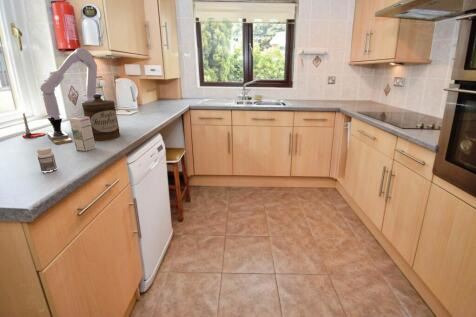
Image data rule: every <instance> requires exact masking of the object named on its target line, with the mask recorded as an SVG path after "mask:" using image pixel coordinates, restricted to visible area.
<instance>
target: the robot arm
mask: <svg viewBox="0 0 476 317" xmlns="http://www.w3.org/2000/svg"><path fill="white" fill-rule="evenodd" d="M78 62H81V63H82V64H83V65H84V66H85V67H86V82H85V83H86V85H85V87H86V88H85V98H84V102H89V101H93V100H94V99H95V98H94V97H93V96H94V95H95V94H97V92H96V91H97V76H98V74H97V73H98V72H97V71H98V65H97V62H96V61H95V59H94V57H93V55H92V52H90V51H89V50H88V49H86V48H85V47H78V48H76V49H75V50H74V51H73V52H70V54H69V55H68V56H67V57H66V58H65V60H64V61H63V62H62V64H61V65H60V67H59V68H58V69H57V70H55V69H54V70H52V71H49V75H48V77H46V79H43V83H41V85H40V88H39V89H40V90H41V91H40V92H42V97H43V98H42V99H43V104H44V107H45V111H46V114H44V117H47V120H48V121H49V123H50V124H51V126H52V127H53V126H54V128H55V131H56V132H57V131H62V121H63V118H62V117H60V116H61V113H60V108H59V104H58V100H57V96H56V95H55V91H56V88H57V87H59V85H60V84H61V82H62V81H63V80H64V79H65V73H67V71H68V70H69V69H70V68H71V67H72V65H73V64H75V63H78Z"/></svg>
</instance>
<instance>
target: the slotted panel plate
mask: <svg viewBox="0 0 476 317" xmlns="http://www.w3.org/2000/svg"><path fill="white" fill-rule="evenodd" d="M47 138H48V139H49V140H50V141H51V142H52V143H53V144H54V145H61V144H68V143H72V142H73V140H72V138H71V137H69V134H67V133H66V132H65V131H64V130H61V131H57V132H54V131H53V132H51V131H50V132H47Z"/></svg>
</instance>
